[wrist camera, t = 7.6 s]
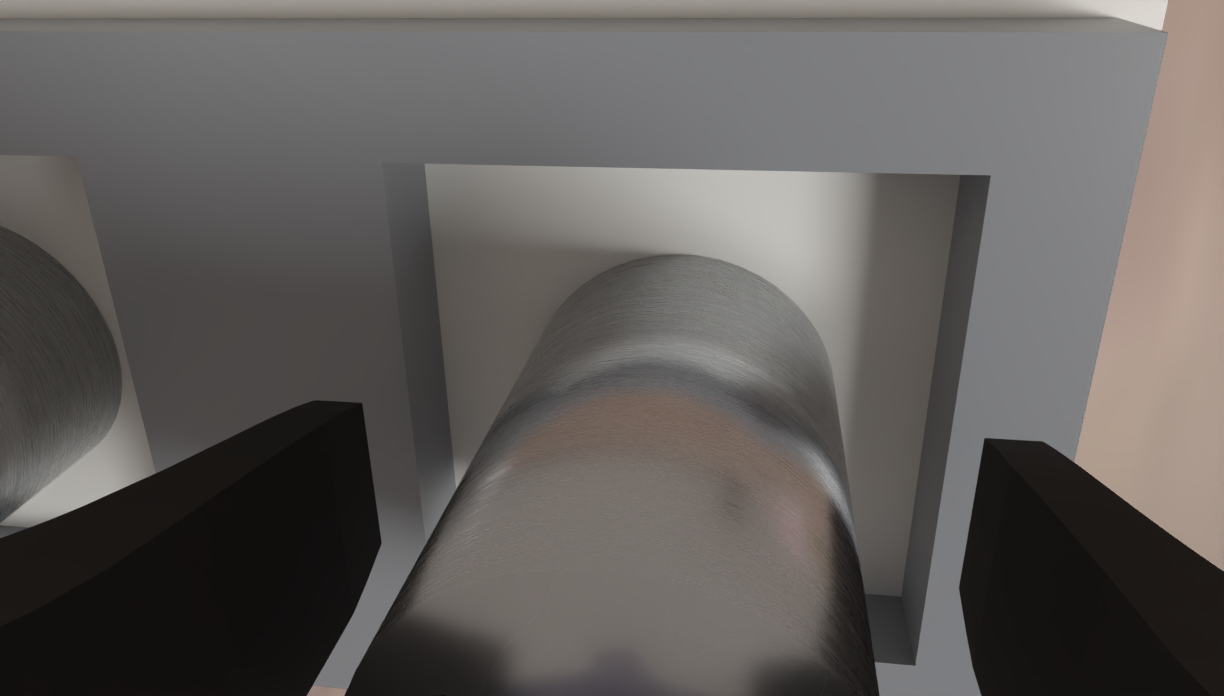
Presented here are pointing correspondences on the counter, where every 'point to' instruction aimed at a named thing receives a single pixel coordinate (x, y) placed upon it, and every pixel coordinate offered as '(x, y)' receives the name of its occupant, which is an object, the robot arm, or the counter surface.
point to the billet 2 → (647, 511)
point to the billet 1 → (49, 371)
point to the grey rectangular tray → (585, 227)
